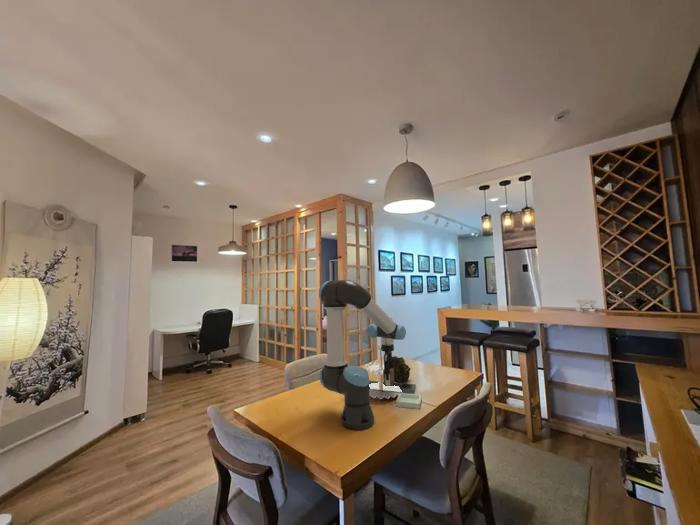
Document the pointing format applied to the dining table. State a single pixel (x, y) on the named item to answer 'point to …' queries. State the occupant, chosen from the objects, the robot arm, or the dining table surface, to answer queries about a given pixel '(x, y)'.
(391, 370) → the block
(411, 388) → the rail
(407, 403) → the tray
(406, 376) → the rock
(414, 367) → the dining table surface
